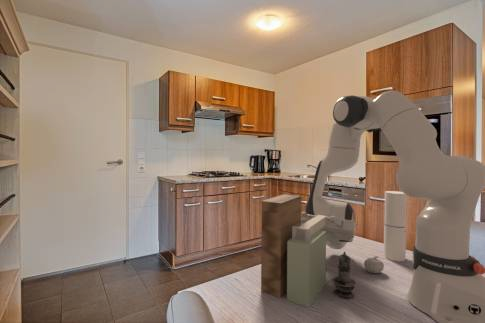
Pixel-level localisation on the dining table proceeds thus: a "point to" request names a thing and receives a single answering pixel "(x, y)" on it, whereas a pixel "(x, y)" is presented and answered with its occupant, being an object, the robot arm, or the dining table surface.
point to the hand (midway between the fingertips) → (317, 216)
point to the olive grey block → (306, 268)
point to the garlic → (373, 265)
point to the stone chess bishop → (344, 279)
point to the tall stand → (277, 240)
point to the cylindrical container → (395, 225)
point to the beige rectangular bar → (309, 228)
